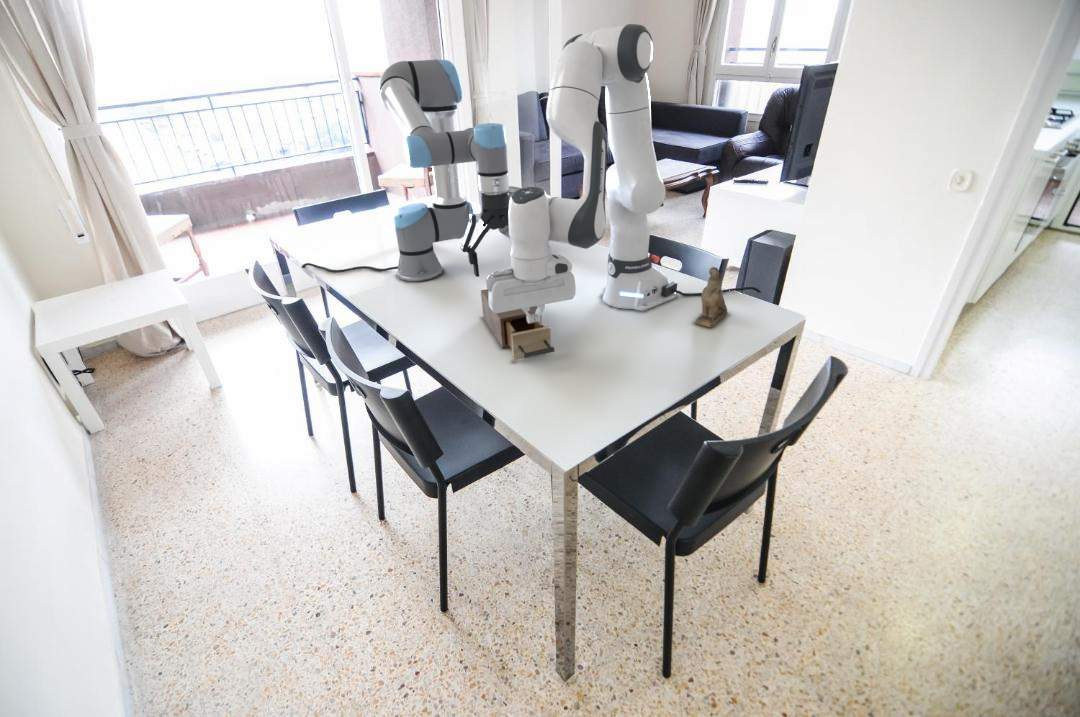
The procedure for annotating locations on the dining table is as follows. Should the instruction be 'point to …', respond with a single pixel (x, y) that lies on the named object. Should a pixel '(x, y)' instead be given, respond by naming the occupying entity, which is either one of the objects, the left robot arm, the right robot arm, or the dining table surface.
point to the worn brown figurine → (712, 301)
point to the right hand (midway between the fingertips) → (533, 321)
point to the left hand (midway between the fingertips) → (500, 271)
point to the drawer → (527, 338)
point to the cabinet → (500, 318)
